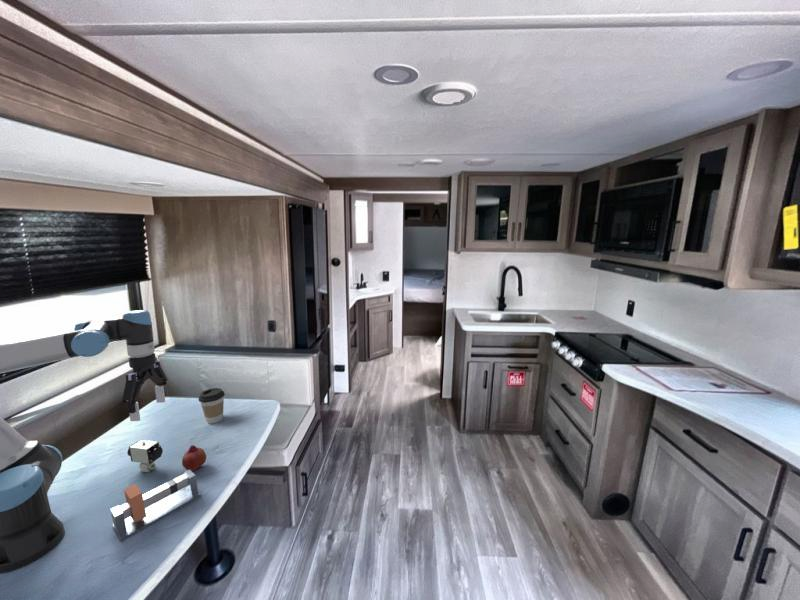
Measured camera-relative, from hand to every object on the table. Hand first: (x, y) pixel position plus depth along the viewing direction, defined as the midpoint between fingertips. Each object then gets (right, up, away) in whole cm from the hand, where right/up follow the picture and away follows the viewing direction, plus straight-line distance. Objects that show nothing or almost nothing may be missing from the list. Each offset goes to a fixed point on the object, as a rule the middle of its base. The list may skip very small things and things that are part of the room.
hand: (149, 410), depth 120 cm
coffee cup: (-2, -20, +46) cm, 50 cm away
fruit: (+11, -26, +10) cm, 30 cm away
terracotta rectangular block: (+8, -28, -15) cm, 33 cm away
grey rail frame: (+11, -30, -10) cm, 33 cm away
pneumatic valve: (-8, -27, +10) cm, 30 cm away
